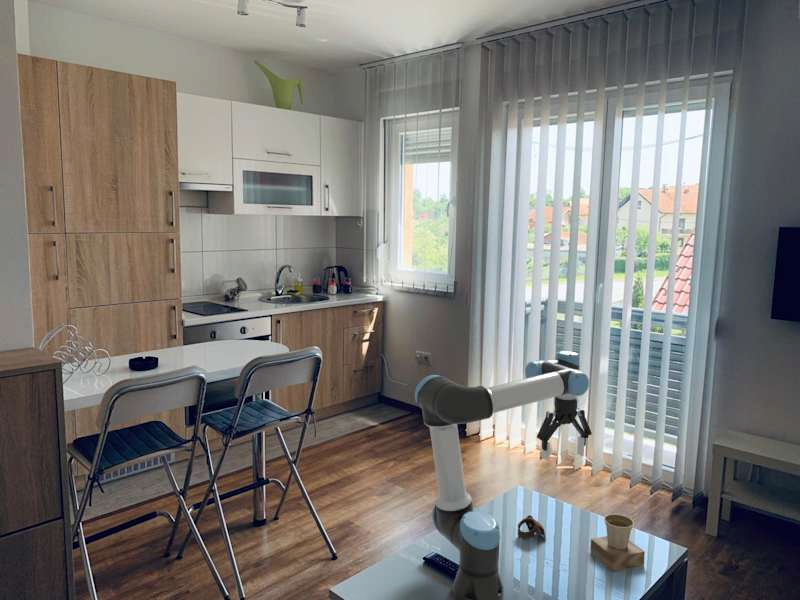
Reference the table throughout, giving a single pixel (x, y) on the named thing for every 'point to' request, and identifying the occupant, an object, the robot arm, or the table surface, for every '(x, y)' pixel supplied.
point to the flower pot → (618, 530)
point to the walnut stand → (617, 555)
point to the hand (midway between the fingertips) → (563, 457)
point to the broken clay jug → (530, 528)
